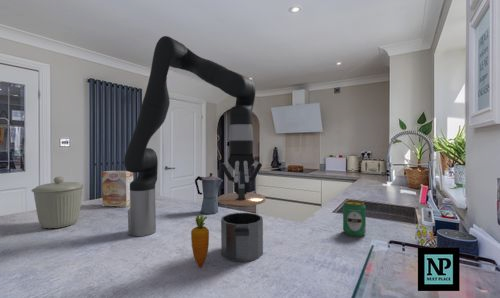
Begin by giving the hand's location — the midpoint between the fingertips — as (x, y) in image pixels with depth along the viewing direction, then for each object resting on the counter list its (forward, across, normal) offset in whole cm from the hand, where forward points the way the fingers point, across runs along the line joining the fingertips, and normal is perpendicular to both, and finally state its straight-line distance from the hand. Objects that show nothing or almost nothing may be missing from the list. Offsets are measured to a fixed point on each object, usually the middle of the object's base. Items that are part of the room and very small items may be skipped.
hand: (241, 193), depth 81 cm
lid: (+3, 0, 0) cm, 3 cm away
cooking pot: (+19, 0, 0) cm, 19 cm away
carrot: (+19, -12, -9) cm, 24 cm away
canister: (+19, -79, +31) cm, 87 cm away
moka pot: (+19, -17, +48) cm, 54 cm away
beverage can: (+19, +43, +15) cm, 49 cm away
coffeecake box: (+19, -70, +65) cm, 97 cm away
